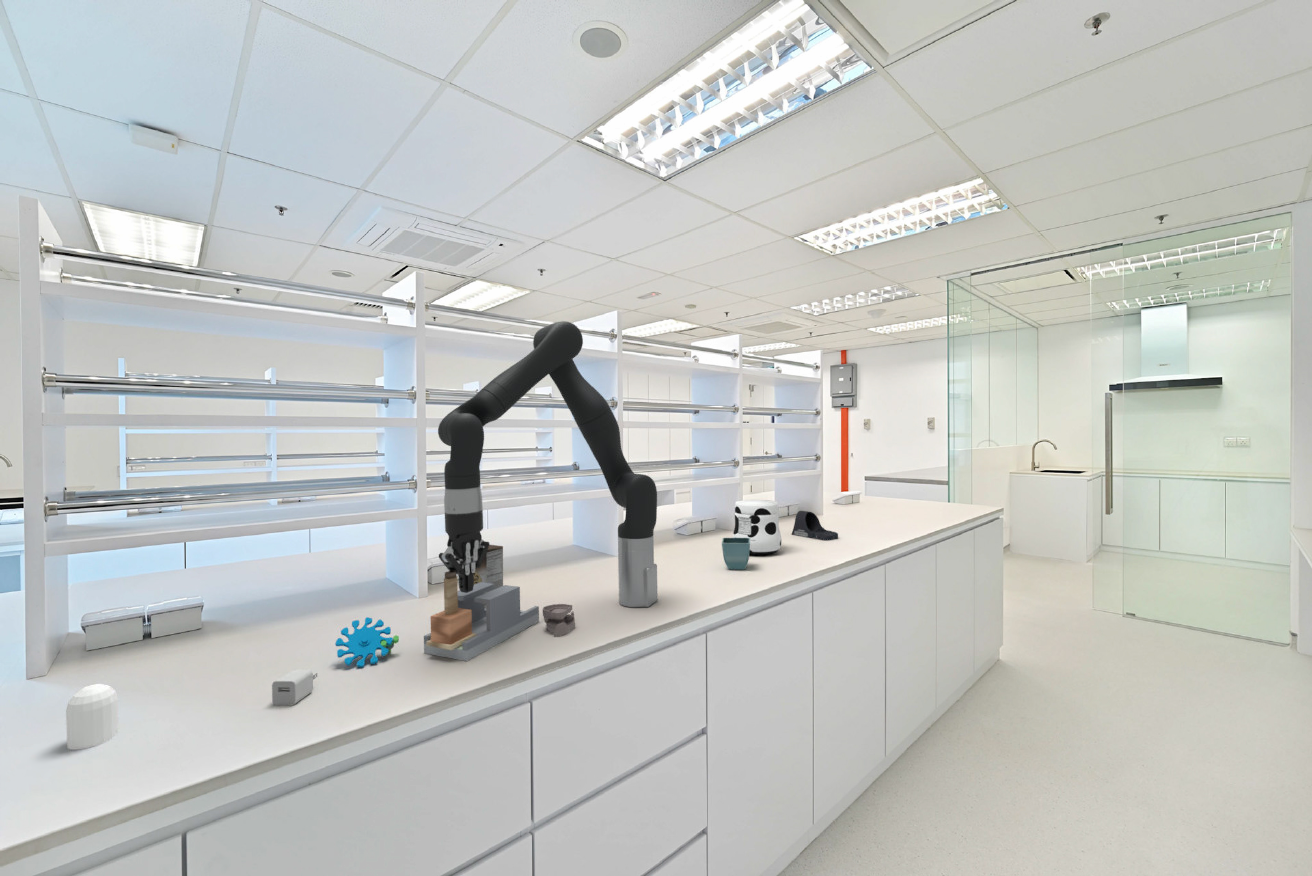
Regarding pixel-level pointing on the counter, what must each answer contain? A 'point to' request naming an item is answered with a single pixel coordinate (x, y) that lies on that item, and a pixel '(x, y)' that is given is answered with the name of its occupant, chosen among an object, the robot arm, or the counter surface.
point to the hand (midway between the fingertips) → (466, 591)
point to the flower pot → (736, 552)
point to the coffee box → (491, 568)
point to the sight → (811, 527)
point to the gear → (365, 642)
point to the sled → (450, 619)
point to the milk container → (758, 525)
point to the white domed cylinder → (92, 717)
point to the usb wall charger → (292, 687)
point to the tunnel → (489, 619)
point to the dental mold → (559, 619)
